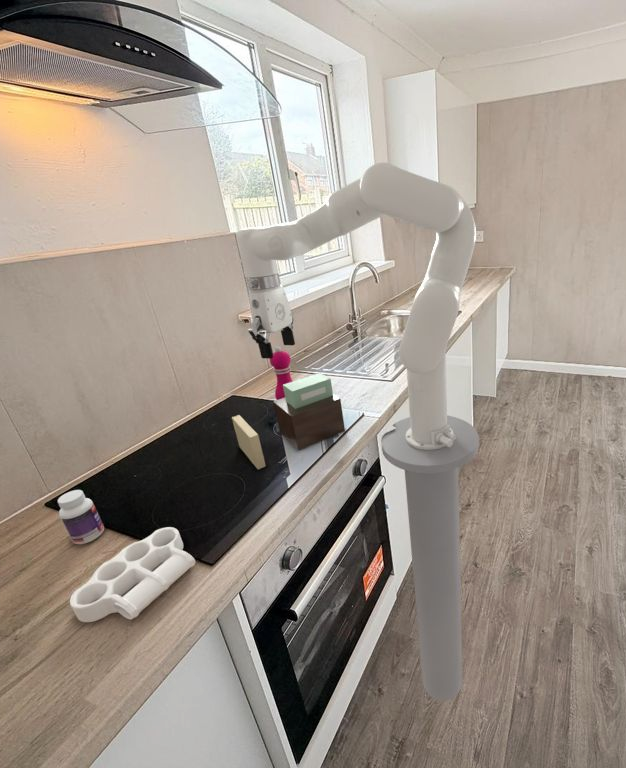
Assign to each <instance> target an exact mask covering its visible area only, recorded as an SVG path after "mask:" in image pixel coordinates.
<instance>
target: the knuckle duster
mask: <svg viewBox="0 0 626 768" xmlns="http://www.w3.org/2000/svg"><path fill="white" fill-rule="evenodd" d="M183 549H184V542H183V540H182V537H181V534H180V532H179V530H178V529H177V528H175V527H173V526H167V527H166V526H165V527H161V528H158V529H156V530H154V531H153V532H152V533H151V534H150V535H148V536H147V537H145V538H143V539H142V540H139V541H135V542H132V543H131V544H129V545H127V546H126V547H123V548H122V549H121V550H120V551H119V553H118V554H116V555H115V556H114V557H113V558H111V559H109V560H107V561H104V562H103V563H102V564H100V566H99V567H97V569H96V570H94V572H93V574H92V576H91V577H90V578H89V580H88V581H86V582H85V584H83V585H82V586H80V587H78V588H77V589H75V590H74V591H73V592H72V595H71V596H70V599H69V605H70V608H71V609H72V611H73V613H74V614H75V616H76V618H77V619H78V620H79V622H81V623H93V622H96V621H99V620H102V619H104V618H106V617H107V616H109V615H110V614H115V613H119V615H121V616H122V617H124V618H126V619H127V620H129V621H131V620H133V619H135V618H137V617H138V616H139V615H140V613H141V612H143V611H144V610H145V609H146V608H147V607H148V606H149V605H150V604H151V603H152V602H154V600H156V599H157V598H158V597H159V596H160V595H161V594H163V593H164V592H165V591H167V590H168V589H170V588H169V587H171V586H172V584H174V583H175V582H176V581H177V580H178V579H179V578H180V577H181V576H183V575H184V574H185V573H186V572H188V570H190V568H193V566H195V565H196V563H197V562H196V559H195V558H194V557H193V555H191V554H190V553H188V552H187V551H185V550H183Z"/></svg>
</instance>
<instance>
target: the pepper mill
mask: <svg viewBox="0 0 626 768" xmlns="http://www.w3.org/2000/svg"><path fill="white" fill-rule="evenodd" d="M273 355H274V357H273V358H272V359H269V364H270V366H271V367H273V368H272V369H273V373H274V374H275V376H276V387H275V390H274V397H275V400H279V399H282V398H285V393H284V388H283V385H284V384H287V383H290V382H293V381H294V380H293V379H292V375H291V370H292V368H291V365H290V363H291V360H292V359H291V356H290V354H289V353H288V352H287V351H285V350H282V347H280V346H276V347H275V348H274V352H273Z"/></svg>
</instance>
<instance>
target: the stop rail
mask: <svg viewBox="0 0 626 768" xmlns="http://www.w3.org/2000/svg"><path fill="white" fill-rule="evenodd" d="M231 420H232V424H233V428H234V431H235V435H236V439H237V442H238V447H239V448H240V450H241V451H242V452H243V453H244V454H245V456H246V457H247V458H248V459H249V461H250V462H251V463H252V464H253V466H254V467H255V468H256V469H257V470H261V469H263V468H266V466H267V465H266V461H265V457H264V453H263V449H262V445H261V441H260V436H259V434H258V433H257V432H256V431H255V430H254V428H252V426H250V425H249V423H248V422H247V421H246V420H245V419H244V418H243V417H242V416H241V415H240V414H238V415H237V414H236V415H235V416H232V417H231Z"/></svg>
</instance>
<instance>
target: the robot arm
mask: <svg viewBox="0 0 626 768" xmlns="http://www.w3.org/2000/svg"><path fill="white" fill-rule="evenodd" d="M384 216H388V217H391V218H392V219H396V220H399V221H402V222H404V223H407V224H409V225H413V226H414V227H418V228H421V229H423V230H426V231H429V232H434V233H435V242H434V245H433V249H432V252H431V255H430V259H429V264H428V267H427V269H426V272H425V275H424V278H423V280H422V282H421V285H420V286H419V288H418V290H417V292H416V293H415V295H414V298H413V302H412V305H411V307H410V311H409V315H408V317H407V321H406V324H405V328H404V331H403V335H402V337H401V340H400V344H399V349H398V355H399V359H400V362H401V364H402V366H403V367H404V368H405V369H406V379H407V380H406V381H407V395H408V409H409V410H408V411H409V417H410V425H411V428H409V429H408V430H407V432H406V435H405V437H406V441H407V443H408V444H409V445H410V446H412V447H414V448H417V449H421V450H436V449H440V448H443V447H445V446H447V447H451V446H452V445H453V441H454V440H455V439H456V436H455V435H454V433H453V431H452V429H451V428H450V425H448V424H447V415H448V409H447V408H448V407H447V406H448V404H447V403H448V401H447V367H446V366H447V365H446V364H447V363H446V361H447V360H446V359H447V357H446V356H447V355H446V350H447V346H448V344H449V341H450V337H451V335H452V332H453V329H454V327H455V324H456V321H457V318H458V315H459V311H460V304H461V293H462V289H463V286H464V282H465V280H466V277H467V274H468V271H469V267H470V264H471V261H472V257H473V254H474V250H475V246H476V237H477V231H476V229H477V228H476V222H475V217H474V215H473V212H472V210H471V207H470V206H469V204H468V203H467V202H466V200H465V199H464V198H463V196H461V194H460V193H459V191H457V190H456V189H455V188H454V187H452V186H450V185H448V184H444V183H442V182H438V181H436V180H433V179H430V178H427V177H424V176H422V175H419V174H416V173H413V172H410V171H408V170H405V169H402V168H401V167H398V166H396V165H394V164H392V163H390V162H389V163H388V162H376V163H375V164H372V165H371V166H369V167H368V168H367V169H366V170H365V171H364V173H363V175H362V176H361V177H360V178H358V179H356V180H354V181H353V182H351V183H348V184H347V185H345V186H343V187H341V188H339V189H337V190H335V191H333V192H332V193H330V194H329V195H328V196H327V197H326V198H325V200H324V202H323V203H322V205H320V206H319V207H318V208H317V209H315V210H313V211H311V212H309V213H308V214H306V215H304V216H302V217H300V218H299V219H296V220H294V221H290V222H284V223H283V222H282V223H277V224H274V225H270V226H255V227H254V226H253V227H246V228H241V229H239V230H237V231H236V233H235V238H236V242H237V247H238V251H239V257H240V259H241V264H242V269H243V273H244V276H245V280H246V285H247V289H248V300H249V301H248V302H249V308H250V315H251V320H252V322H251V324H250V325H249V327H248V329H247V332H248V333H249V335H250V336H251V339H252V340H253V341H254V342H255V343H256V344H257V345H258V349H259V353H260V356H261V359H267V360H270V359H272V358H273V357H274V355H273V353H274V352H273V347H272V343H271V341H270V336H271V334H275V333H278V332H279V331H280V334H281V338H282V343H283V345H284V346H295V345H296V340H295V335H294V331H293V330H294V325H293V324H294V310H293V309H291V307H290V303H289V300H288V297H287V294H286V291H285V289H284V287H283V285H282V284H281V278H280V274H279V269H278V264H277V261H289V260H291V259H294V258H296V257H299V256H303V255H305V254H307V253H310V252H312V251H314V250H315V249H317V248H320V247H321V246H324V245H325V244H327V243H329V242H332V241H333V240H335V239H338V238H339V237H342V236H346V235H348V234H349V233H351V232H354V231H355V230H357V229H358V230H359V228H362V227H363V226H365V225H367V224H369V223H372V222H373V221H375V220H377V219H379V218H382V217H384Z"/></svg>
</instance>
